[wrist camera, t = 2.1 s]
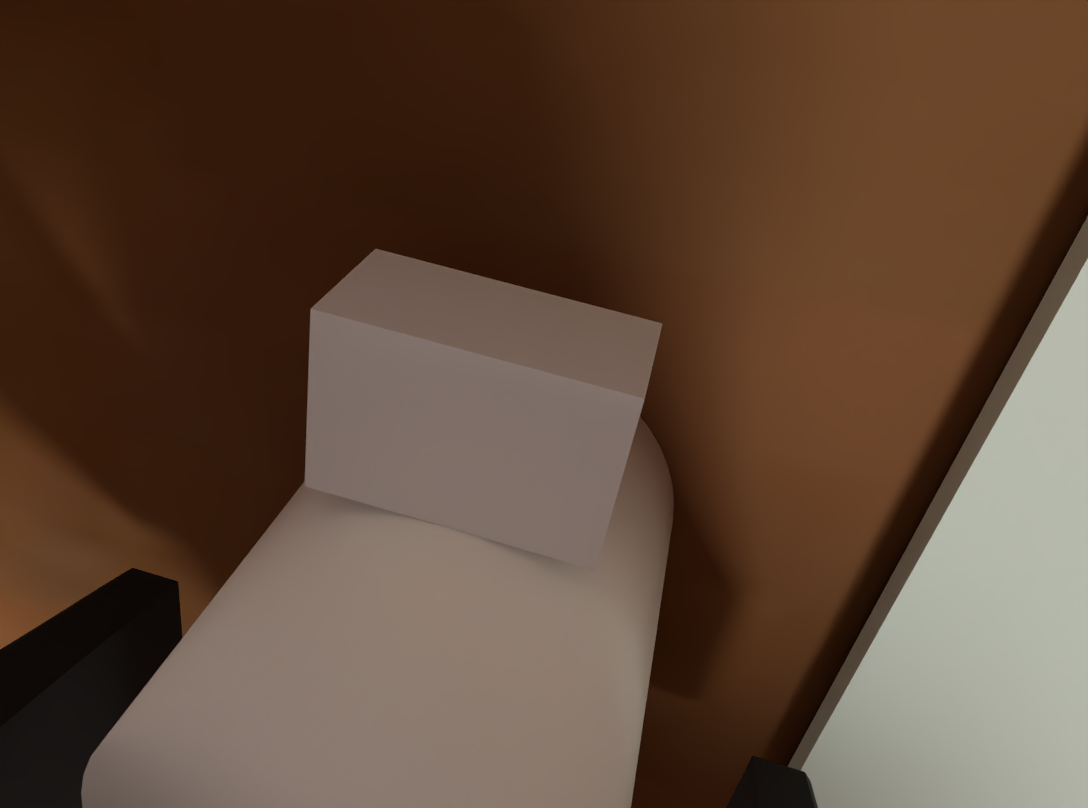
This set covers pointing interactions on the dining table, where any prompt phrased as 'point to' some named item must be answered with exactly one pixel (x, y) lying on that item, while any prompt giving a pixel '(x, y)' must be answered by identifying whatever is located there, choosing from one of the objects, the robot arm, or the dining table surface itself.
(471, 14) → the dining table surface
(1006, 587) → the mat
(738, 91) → the dining table surface
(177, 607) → the robot arm
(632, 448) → the grey rounded piece
